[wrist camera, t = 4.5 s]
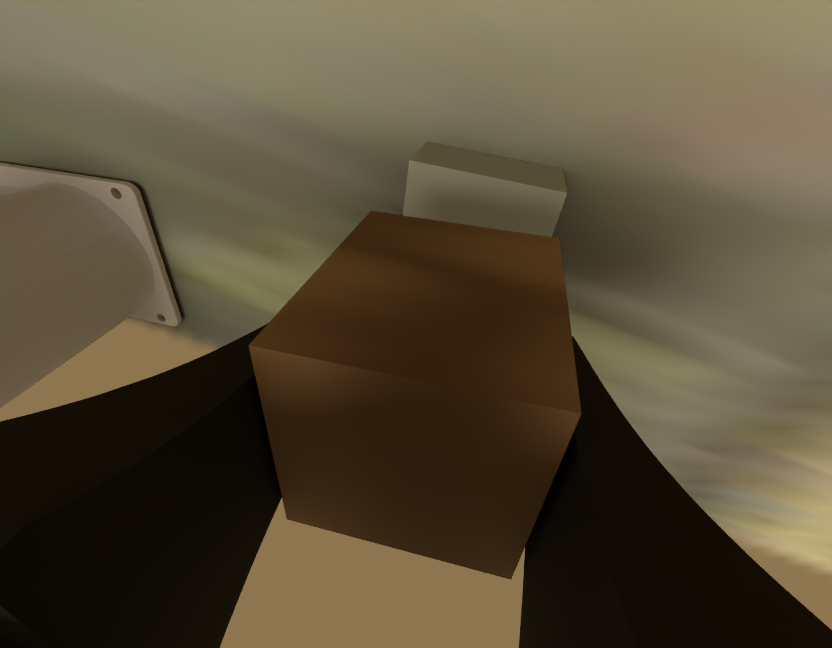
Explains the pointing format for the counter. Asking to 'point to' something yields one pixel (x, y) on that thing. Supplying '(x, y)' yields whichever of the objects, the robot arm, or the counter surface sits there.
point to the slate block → (483, 190)
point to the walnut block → (423, 389)
